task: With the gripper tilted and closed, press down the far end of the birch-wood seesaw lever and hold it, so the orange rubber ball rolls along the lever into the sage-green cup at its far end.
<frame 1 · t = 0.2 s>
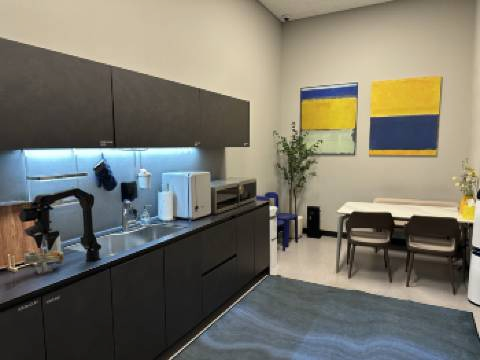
hand: (44, 249, 174), 14 cm above the worktop, tool pointing down, fingers open, 9 cm apart
skincare box: (54, 259, 202), on the worktop
ball: (54, 254, 186), point 8 cm above the worktop, tilted 15°, touching lever
lever: (43, 258, 183), point 7 cm above the worktop, hinge at -8.0°, touching ball
pivot stand: (44, 270, 183), on the worktop
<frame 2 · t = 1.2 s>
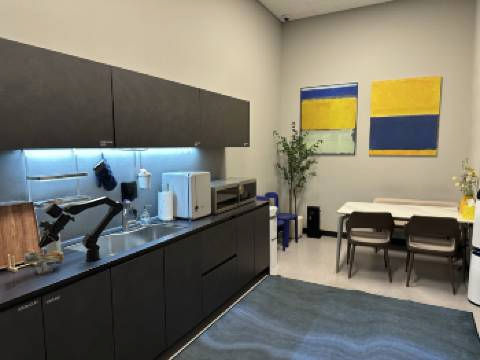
hand: (39, 246, 181), 14 cm above the worktop, tool tilted 45°, fingers open, 4 cm apart
nothing on the worktop moved.
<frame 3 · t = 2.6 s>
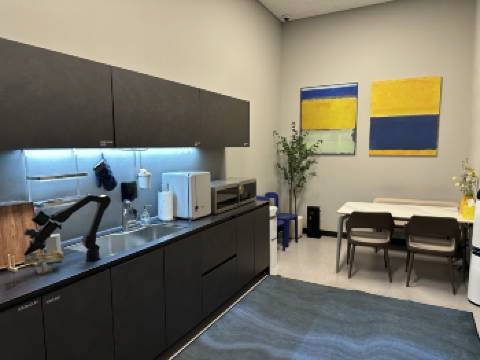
hand: (24, 255, 178), 10 cm above the worktop, tool tilted 45°, fingers closed, pressing on lever
lever: (43, 258, 183), point 7 cm above the worktop, hinge at -5.9°, touching ball, gripper
everything else where it was.
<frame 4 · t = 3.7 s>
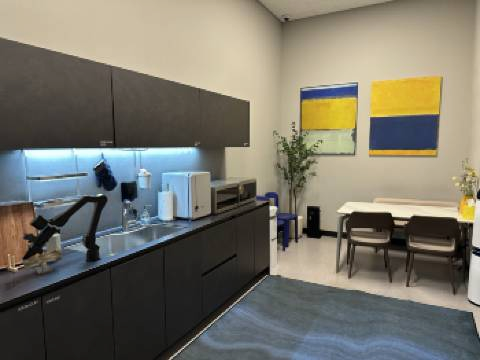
hand: (22, 259, 177), 8 cm above the worktop, tool tilted 45°, fingers closed, pressing on ball, lever
ball: (33, 258, 180), point 8 cm above the worktop, tilted 94°, touching gripper, lever
lever: (42, 258, 183), point 7 cm above the worktop, hinge at 8.9°, touching ball, gripper
everything else where it was.
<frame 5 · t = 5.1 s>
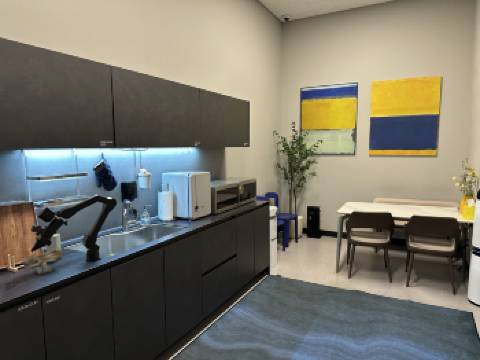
hand: (31, 251, 179), 12 cm above the worktop, tool tilted 45°, fingers closed
ball: (31, 259, 180), point 8 cm above the worktop, tilted 72°, touching lever
lever: (42, 258, 183), point 7 cm above the worktop, hinge at 8.8°, touching ball
everything else where it was.
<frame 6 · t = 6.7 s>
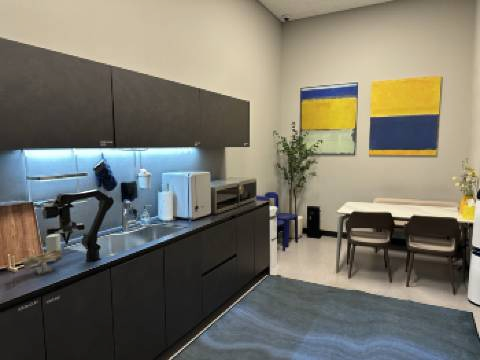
hand: (66, 243, 187), 13 cm above the worktop, tool pointing down, fingers closed
ball: (31, 259, 180), point 8 cm above the worktop, tilted 77°, touching lever
everything else where it was.
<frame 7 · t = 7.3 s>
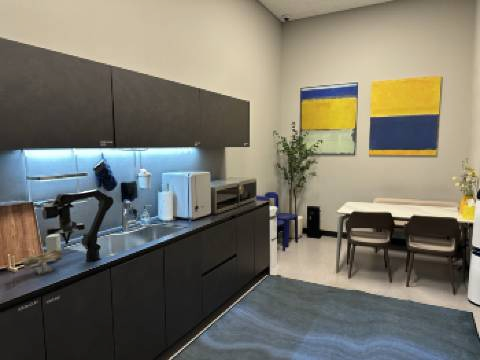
hand: (66, 243, 187), 13 cm above the worktop, tool pointing down, fingers closed
nothing on the worktop moved.
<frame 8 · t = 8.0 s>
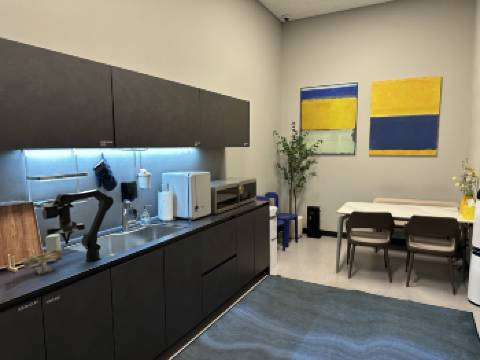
hand: (66, 243, 187), 13 cm above the worktop, tool pointing down, fingers closed
nothing on the worktop moved.
at the end: ball 0.2 cm from the target spot, point 7.6 cm above the worktop; lever at +9° (first picture: -8°); ball moved 10.4 cm from its start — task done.
